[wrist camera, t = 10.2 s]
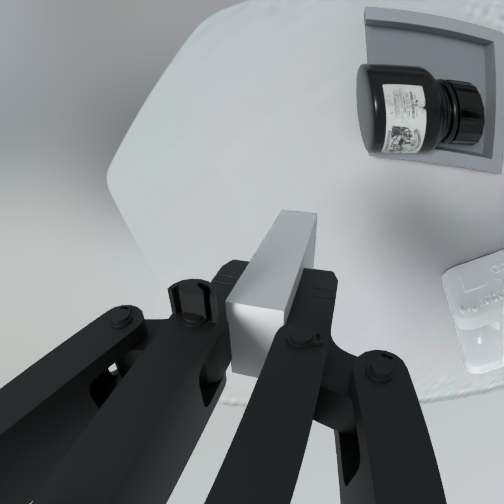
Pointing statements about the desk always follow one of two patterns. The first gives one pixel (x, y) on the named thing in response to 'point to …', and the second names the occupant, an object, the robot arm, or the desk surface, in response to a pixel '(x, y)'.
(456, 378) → the desk surface
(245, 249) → the desk surface
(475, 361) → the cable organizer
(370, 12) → the tray
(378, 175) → the desk surface
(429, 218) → the desk surface
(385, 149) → the ink bottle
